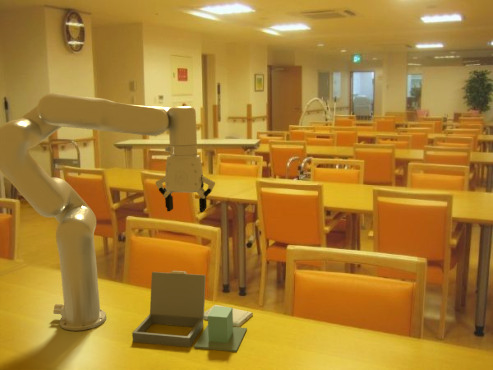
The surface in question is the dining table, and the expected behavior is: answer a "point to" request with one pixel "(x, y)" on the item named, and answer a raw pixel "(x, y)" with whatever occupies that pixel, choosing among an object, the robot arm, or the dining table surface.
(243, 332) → the mat
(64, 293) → the robot arm
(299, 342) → the dining table surface
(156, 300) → the lid
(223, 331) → the block
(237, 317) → the hard drive
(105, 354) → the dining table surface
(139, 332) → the case
